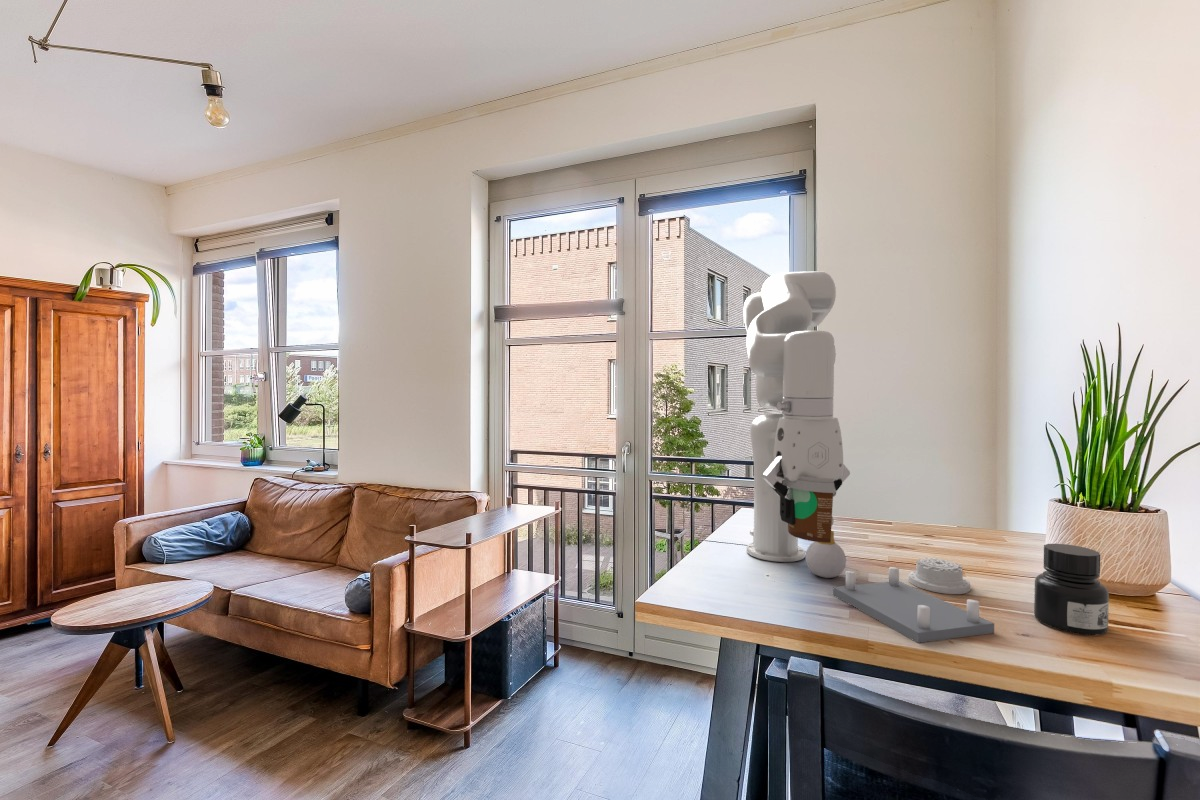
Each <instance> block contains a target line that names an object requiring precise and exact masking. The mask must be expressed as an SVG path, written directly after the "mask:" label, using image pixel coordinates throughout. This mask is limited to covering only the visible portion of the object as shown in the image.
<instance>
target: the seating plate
mask: <svg viewBox="0 0 1200 800" xmlns="http://www.w3.org/2000/svg"><path fill="white" fill-rule="evenodd" d="M899 573H900V568H898V567H896V566H890V567H889V568H888V581H884V582H873V583H871V582H870V583H861V584H860V583H859V584H856V578H857V577H856V572H855V571H852V570H846V571H845V585H842V586H841V585H840V586H834V587H832V588H833V590H832V591H833V593H832V595H834V597H835V596H836V597H835V598H837V597H838V599H839V598H840V599H839V600H841V599H842V600H843V601H842V600H841V601H842V602H844V601H845V602H844V603H846V602H847V603H846V604H848V603H849V604H851V605H853V606H854V607H853V606H852V607H853V608H855V607H856V608H855V609H857V608H858V609H860V610H861V611H860V610H859V611H860V612H862V611H863V612H862V613H864V614H865V613H866V615H867V614H868V615H867V616H869V615H870V617H871V616H872V617H871V618H873V619H874V618H875V620H876V619H877V620H876V621H878V620H879V621H878V622H879V623H881V624H884V625H885V626H887V627H889V628H891V629H892V630H894V631H896V632H898V633H899V634H901V635H903V636H905V637H906V638H908V637H909V638H908V639H910V638H911V639H910V640H912V639H913V640H912V641H914V640H915V641H916V643H917V642H918V643H917V644H920V642H922V643H928V642H927V641H930V642H936V640H937V641H944V640H950V639H959V638H965V637H973V636H982V635H989V634H995V623H994V622H993V621H990V620H988V619H987V618H984V617H982V616H980V601H978V600H976V599H966V609H963V608H961V607H960V606H959V607H958V606H956V605H954V604H952V603H949V602H947V601H945V600H943V599H940V598H938V597H937V596H934V595H932V594H930V593H928V592H924V591H923V590H920V589H918V588H915V587H913V586H911V585H909V584H907V583H904V582H902V581H900V574H899ZM849 604H848V605H849ZM851 605H850V606H851ZM858 609H857V610H858ZM915 641H914V642H915Z"/></svg>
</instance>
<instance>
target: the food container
mask: <svg viewBox="0 0 1200 800" xmlns="http://www.w3.org/2000/svg"><path fill="white" fill-rule="evenodd" d="M783 485H785V486H786V489H787V487H790V488H793V498H792V499H793V500H794V504H795V524H794V525H791V524H788V532H789V534H791V535H792V536H794V537H797V538H798V539H801V540H804V541H809V542H824V543H831V531H832V526H831V524H832V516H833V506H834V505H833V504H834V502H833V501H834V497H833V493H835V488H834V479H829V478H814V477H805V476H799V480H798V481H796V482H792V481H790V480H788V478H785V476H784V480H783Z"/></svg>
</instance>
